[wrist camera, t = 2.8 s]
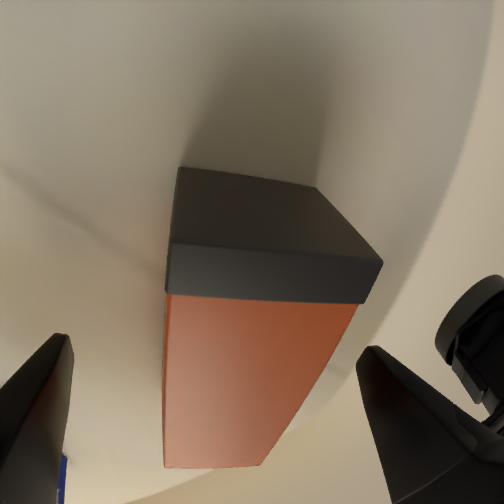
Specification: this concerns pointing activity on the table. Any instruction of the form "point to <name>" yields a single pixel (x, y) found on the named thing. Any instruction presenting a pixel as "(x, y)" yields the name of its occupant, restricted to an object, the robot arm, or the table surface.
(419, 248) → the table surface
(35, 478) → the robot arm
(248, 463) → the orange box
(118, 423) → the table surface
